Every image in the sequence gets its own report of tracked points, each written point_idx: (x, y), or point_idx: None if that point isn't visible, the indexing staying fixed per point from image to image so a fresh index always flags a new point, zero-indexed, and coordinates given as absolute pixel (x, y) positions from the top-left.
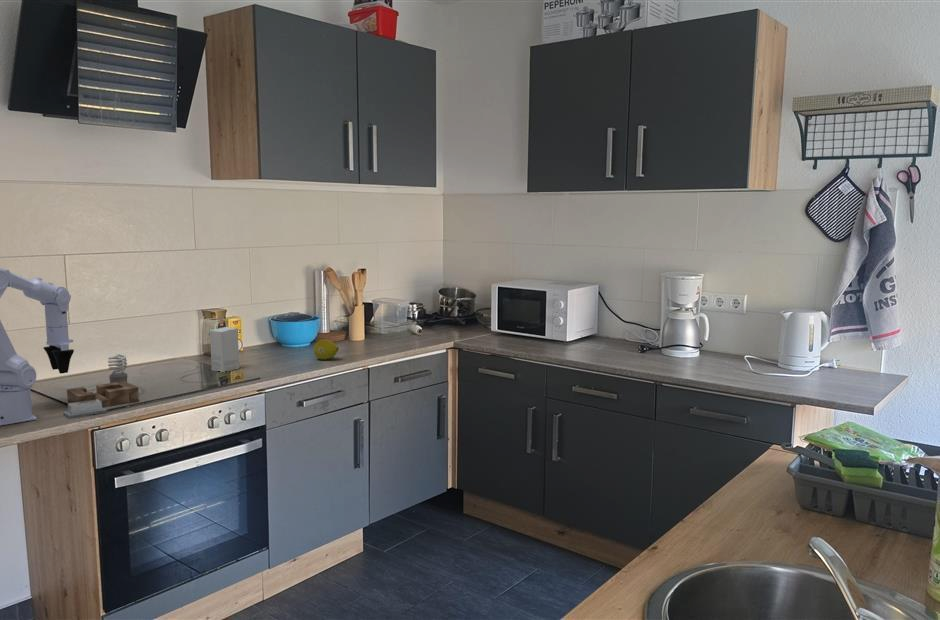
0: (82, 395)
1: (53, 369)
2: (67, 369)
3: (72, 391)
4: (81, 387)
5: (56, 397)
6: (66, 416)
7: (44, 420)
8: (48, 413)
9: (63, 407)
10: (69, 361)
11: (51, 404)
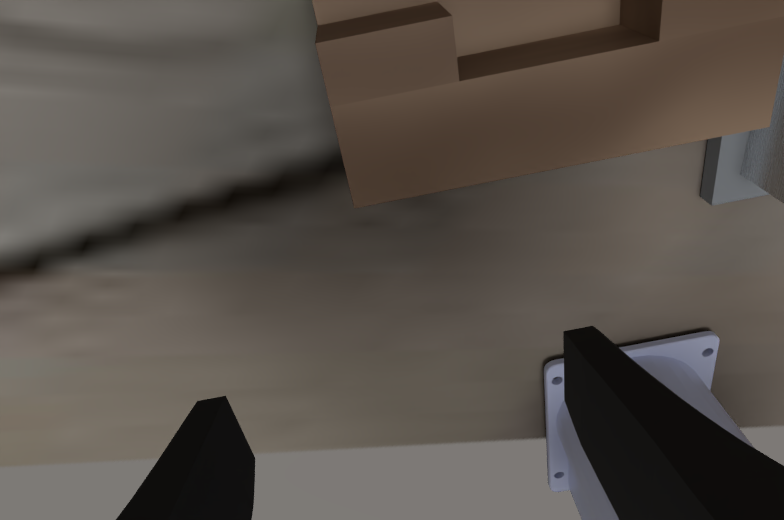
0: (760, 88)
1: (252, 457)
2: (620, 358)
3: (494, 165)
4: (331, 63)
5: (59, 219)
6: None
7: (753, 294)
8: (588, 274)
9: None
10: (735, 437)
11: (316, 255)
